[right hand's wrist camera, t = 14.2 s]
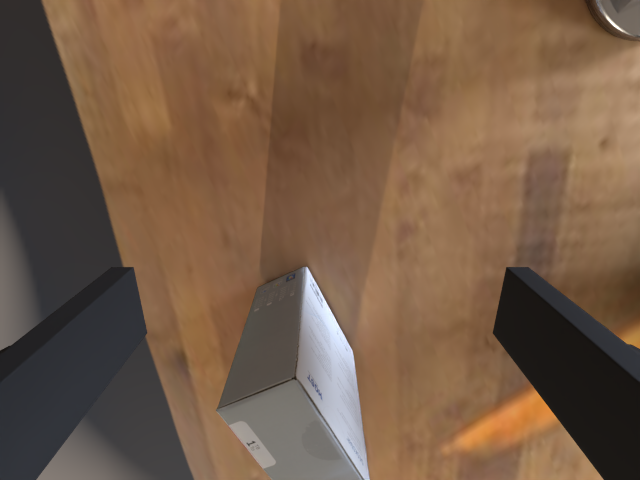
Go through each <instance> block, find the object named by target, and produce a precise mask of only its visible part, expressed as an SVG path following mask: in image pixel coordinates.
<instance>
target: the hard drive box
mask: <svg viewBox="0 0 640 480" xmlns="http://www.w3.org/2000/svg"><path fill="white" fill-rule="evenodd" d="M216 411H217V412H218V414H219V415H220V416H221V417H222V418H223V420H224V421H225V422H226V423H227V425H228V426H229V428H230V429H231V430H232V431H233V433H234V434H235V435H236V436H237V438H238V439H239V440H240V441H241V443H242V444H243V445H244V446H245V448H246V449H247V450H248V451H249V453H250V454H251V455H252V456H253V458H254V459H255V460H256V461H257V462H258V464H259V465H260V466H261V467H262V468H263V470H264V471H265V472H266V473H267V474H268V476H269V477H270V478H271V479H272V480H370V477H369V470H368V462H367V454H366V446H365V439H364V431H363V423H362V416H361V408H360V401H359V393H358V385H357V378H356V370H355V363H354V356H353V351H352V349H351V347H350V345H349V344H348V342H347V340H346V338H345V336H344V334H343V332H342V331H341V329H340V327H339V325H338V323H337V322H336V320H335V318H334V316H333V314H332V312H331V310H330V308H329V307H328V305H327V303H326V301H325V299H324V297H323V295H322V293H321V291H320V289H319V288H318V286H317V284H316V282H315V281H314V279H313V277H312V275H311V273H310V271H309V269H308V268H307V267H302V268H300V269H297V270H295V271H293V272H290V273H288V274H286V275H284V276H282V277H280V278H277V279H275V280H273V281H271V282H268V283H266V284H264V285H262V286H260V287H258V288H257V291H256V294H255V297H254V300H253V303H252V306H251V309H250V312H249V315H248V318H247V321H246V324H245V327H244V330H243V333H242V336H241V339H240V342H239V345H238V348H237V351H236V354H235V357H234V360H233V363H232V366H231V369H230V372H229V375H228V378H227V381H226V384H225V387H224V390H223V393H222V396H221V399H220V402H219V406H218V408H217V409H216Z"/></svg>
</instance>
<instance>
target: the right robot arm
mask: <svg viewBox="0 0 640 480" xmlns="http://www.w3.org/2000/svg"><path fill="white" fill-rule="evenodd" d="M586 3H587V6H588V8H589V10H590V12H591V14H592V16H593V17H594V19H595V20H596V21H597V23H598V24H599V25H600V26H601V27H602V28H603V29H605V30H606V31H607V32H609V33H610V34H612V35H614V36H616V37H619V38H622V39H625V40H631V41H640V0H586ZM146 334H147V330H146V325H145V320H144V315H143V310H142V306H141V301H140V296H139V291H138V287H137V282H136V277H135V272H134V267H111V268H110V269H109V270H108V271H106V272H105V273H104V274H102V275H101V276H100V277H99V278H97V279H96V280H95V281H93V282H92V283H91V284H90V285H88V286H87V287H86V288H84V289H83V290H82V291H81V292H79V293H78V294H77V295H75V296H74V297H73V298H72V299H70V300H69V301H68V302H66V303H65V304H64V305H63V306H61V307H60V308H59V309H58V310H56V311H55V312H54V313H52V314H51V315H50V316H49V317H47V318H46V319H45V320H43V321H42V322H41V323H40V324H38V325H37V326H36V327H34V328H33V329H32V330H31V331H29V332H28V333H27V334H25V335H24V336H23V337H22V338H20V339H19V340H18V341H16V342H15V343H14V344H13V345H11V346H8V347H6V348H4V349H2V350H1V351H0V480H36V479H37V478H38V476H39V475H40V474H41V473H42V471H43V470H44V469H45V467H46V466H47V465H48V463H49V462H50V461H51V459H52V458H53V457H54V455H55V454H56V453H57V451H58V450H59V449H60V447H61V446H62V445H63V444H64V442H65V441H66V440H67V438H68V437H69V436H70V434H71V433H72V432H73V430H74V429H75V428H76V426H77V425H78V424H79V422H80V421H81V420H82V418H83V417H84V416H85V414H86V413H87V412H88V411H89V409H90V408H91V406H92V405H93V404H94V402H95V401H96V400H97V399H98V397H99V396H100V395H101V393H102V392H103V391H104V389H105V388H106V387H107V385H108V384H109V383H110V381H111V380H112V379H113V378H114V376H115V375H116V374H117V372H118V371H119V370H120V368H121V367H122V366H123V364H124V363H125V362H126V360H127V359H128V358H129V356H130V355H131V354H132V352H133V351H134V350H135V349H136V347H137V346H138V345H139V343H140V342H141V341H142V339H143V338H144V337H145V335H146ZM493 334H494V335H495V337H496V338H497V339H498V341H499V342H500V343H501V345H502V346H503V347H504V349H505V350H506V351H507V352H508V354H509V355H510V356H511V358H512V359H513V360H514V362H515V363H516V364H517V366H518V367H519V368H520V370H521V371H522V372H523V374H524V375H525V376H526V378H527V379H528V380H529V382H530V383H531V384H532V385H533V387H534V388H535V389H536V391H537V392H538V393H539V395H540V396H541V397H542V399H543V400H544V401H545V403H546V404H547V405H548V407H549V408H550V409H551V411H552V412H553V413H554V414H555V416H556V417H557V418H558V420H559V421H560V422H561V424H562V425H563V426H564V428H565V429H566V430H567V432H568V433H569V434H570V436H571V437H572V438H573V440H574V441H575V442H576V444H577V445H578V446H579V447H580V449H581V450H582V451H583V453H584V454H585V455H586V457H587V458H588V459H589V461H590V462H591V463H592V465H593V466H594V467H595V469H596V470H597V471H598V473H599V474H600V475H601V477H602V478H603V479H604V480H640V349H639V348H637V347H635V346H633V345H627V344H626V343H625V342H624V341H622V340H621V339H620V338H618V337H617V336H616V335H615V334H613V333H612V332H611V331H609V330H608V329H607V328H606V327H604V326H603V325H602V324H600V323H599V322H598V321H597V320H595V319H594V318H593V317H591V316H590V315H589V314H588V313H586V312H585V311H584V310H583V309H581V308H580V307H579V306H577V305H576V304H575V303H574V302H572V301H571V300H570V299H568V298H567V297H566V296H565V295H563V294H562V293H561V292H559V291H558V290H557V289H556V288H554V287H553V286H552V285H550V284H549V283H548V282H547V281H545V280H544V279H543V278H541V277H540V276H539V275H538V274H536V273H535V272H534V271H532V270H531V269H530V268H529V267H506V272H505V277H504V282H503V287H502V291H501V296H500V301H499V306H498V310H497V315H496V320H495V325H494V330H493Z"/></svg>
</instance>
